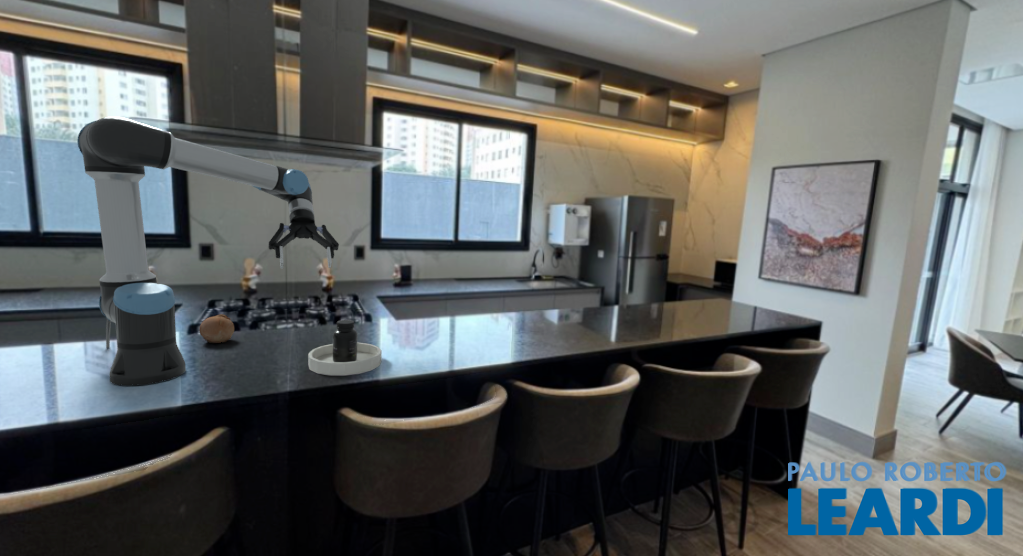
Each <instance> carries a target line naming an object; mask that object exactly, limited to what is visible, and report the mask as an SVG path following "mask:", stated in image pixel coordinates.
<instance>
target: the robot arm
mask: <svg viewBox="0 0 1023 556" xmlns="http://www.w3.org/2000/svg"><path fill="white" fill-rule="evenodd" d="M76 141H77V148H78V149H79V152H80V153H81V155H82V159H83V166H84V172H85V174H86V175H87V176H89V177H90V178H92V179H93V180H94V187H95V193H96V195H95V196H96V201H97V203H96V204H97V209H98V216H99V217H98V218H99V224H100V225H99V226H100V234H101V243H102V250H103V256H104V265H105V273H104V275H102V276H101V277H100V278H99V286H100V295H99V298H98V307H99V310H100V312H101V314H102V315H103V316H104V317H105V318H106V320H107V319H109V320H110V321H111V323H113V324H115V331H116V332H115V333H116V334H115V335H116V345H117V348H116V349H117V350H116V353H115V356H114V358H113V360H112V361H113V362H112V365H111V367H110V370H109V382H110V384H112V385H116V386H123V387H124V386H127V387H130V386H132V387H133V386H134V387H135V386H145V385H146V386H147V385H152V384H156V383H157V384H158V383H162V382H166V381H168V380H169V381H170V380H174V379H177V378H178V377H180V376H182V375H183V374H184V373H186V370H187V368H186V361H185V359H184V356H183V354H182V352H181V351H180V348H179V346H178V345H177V344H178V343H177V333H176V332H177V331H176V329H177V328H176V311H175V309H176V307H175V303H176V297H175V295H174V290H173V289H172V287H170V286H168V285H166V284H163V283H158V282H157V281H158V280H157V274H155V273H153V272H152V271H150V269H149V264H148V255H147V248H146V247H147V246H146V238H145V228H144V220H143V219H144V218H143V209H142V201H141V194H140V193H141V192H140V181H141V180H142V179H144V177H146V173H145V167H149V168H155V169H159V170H166V169H168V168H172V169H176V170H177V169H178V170H181V171H186V172H189V173H195V174H200V175H203V176H208V177H213V178H216V179H221V180H225V181H229V182H230V181H231V182H235V183H239V184H243V185H247V186H251V187H252V188H255V189H257V190H258V191H260V192H264V193H267V194H269V195H271V196H274V197H276V198H279V199H280V200H283V201H285V202H287V205H288V214H289V225H286V224H285V223H283V222H280V223H279V227H278V229H277V231H275V232H274V235H273V236H272V237H271V239H270V240H269V241H268V250H270V251H271V250H274V252H275V258H276V259H279V263H280V265H279V266H280V269H284V250H283V248H284V247H285V246H287V245H289V243H291V242H292V241H294V240H295V239H307V240H308V239H311V240H312V241H315V242H316V243H318V244H319V245H320V246H322V247H323V248H324V249H326V258H327V267H328V269H331V268H332V263H333V259H334V258H335V251H339V246H340V244H339V242H338V241H337V240H336V239H335V238H334V236H332V234H331V233H330V231H329V230H328V228H327V226H326V225H325V224H322V225H321V226H317V225H316V220H315V211H314V206H313V204H314V203H313V192H312V191H313V190H312V188H311V184H310V181H309V179H308V176H307V175H306V173H304V171H302V170H299V169H296V168H286V167H282V166H278V165H275V164H271V163H267V162H264V161H260V160H256V159H253V158H250V157H246V156H244V155H243V156H242V155H239V154H234V153H231V152H228V151H223V150H221V149H218V148H213V147H209V146H206V145H202V144H198V143H195V142H192V141H188V140H185V139H181V138H177V137H175V136H174V134H172V133H171V132H170V131H167V130H163V129H161V128H158V127H154V126H151V125H149V124H146V123H141V122H138V121H135V120H132V119H129V118H126V117H120V116H106V117H105V116H104V117H101V118H99V119H98V120H94V121H91V122H89V123H87V124H85V125H84V126H83V127H82V128H81V130H80V131H79V133H78V135H77V139H76ZM287 231H289V232H288V233H287V234H286V235H285V236H284V237H283V238H282V236H283V234H284V233H286V232H287ZM319 233H320V234H319ZM321 234H322V235H321Z"/></svg>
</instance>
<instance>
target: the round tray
mask: <svg viewBox="0 0 1023 556" xmlns="http://www.w3.org/2000/svg"><path fill="white" fill-rule="evenodd" d="M307 360H308V362H307V363H308V365H307V366H308V369H309V370H310V371H312V372H314V373H316V374H319V375H325V376H351V375H359V374H364V373H367V372H370V371H373V370H375V369H377V368H378V367H380V365H381V364H382V349H381V348H380V347H379V346H377V345H374V344H371V343H365V342H357V360H356V361H352V362H334V361H333V343H331V344H326V345H321V346H318V347H316V348H313V349H312V350H310V351H309V352H308V355H307Z"/></svg>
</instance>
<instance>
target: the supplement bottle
mask: <svg viewBox="0 0 1023 556" xmlns="http://www.w3.org/2000/svg"><path fill="white" fill-rule="evenodd" d="M357 343H358V332H357V330H356V329H355V321H354V320H352V319H351V320H350V319H342V320H338V321H337V322H336V330H334V332H333V333H332V344H333V361H334V362H352V361H356V360H357Z"/></svg>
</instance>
